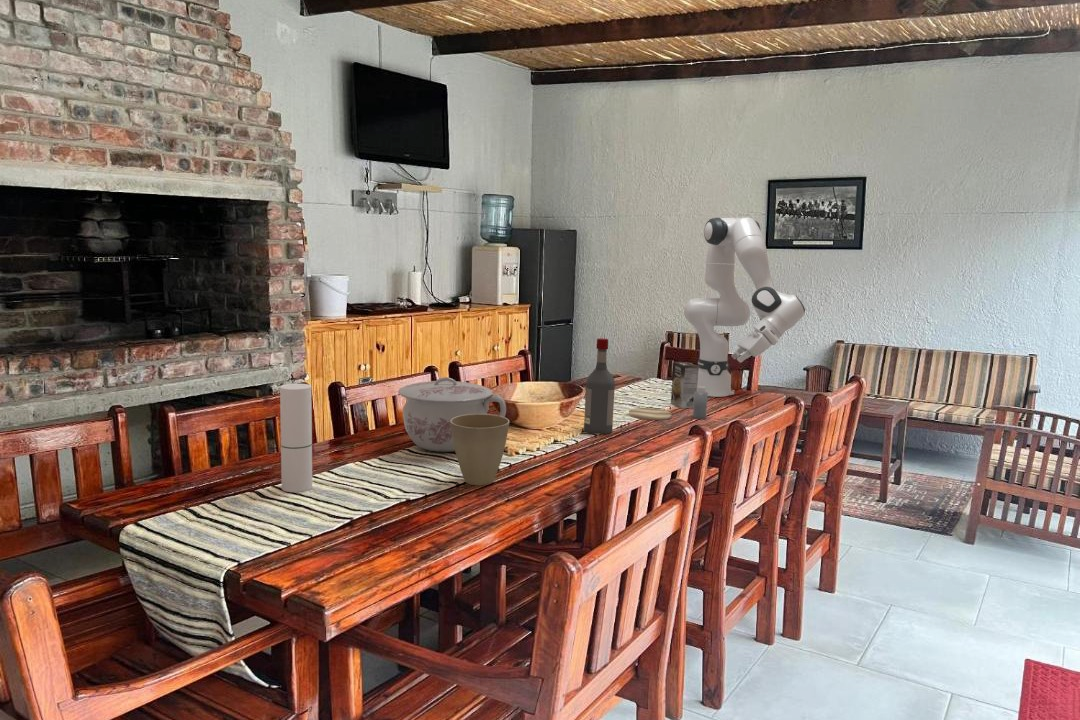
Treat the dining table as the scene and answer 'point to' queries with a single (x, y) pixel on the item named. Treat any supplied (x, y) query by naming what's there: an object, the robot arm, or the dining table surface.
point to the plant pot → (479, 445)
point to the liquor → (599, 395)
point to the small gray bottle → (700, 403)
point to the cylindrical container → (296, 437)
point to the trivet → (650, 414)
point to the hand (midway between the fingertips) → (735, 359)
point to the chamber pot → (442, 410)
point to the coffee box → (684, 384)
